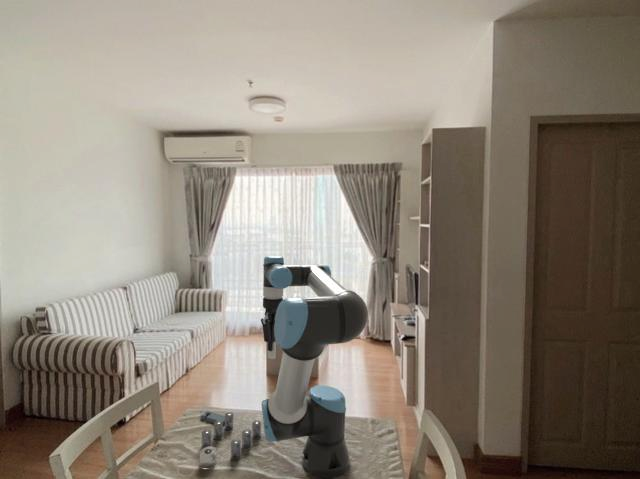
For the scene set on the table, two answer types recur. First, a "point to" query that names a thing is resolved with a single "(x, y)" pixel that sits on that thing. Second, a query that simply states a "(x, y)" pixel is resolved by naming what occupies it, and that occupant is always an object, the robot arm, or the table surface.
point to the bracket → (212, 417)
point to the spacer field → (235, 443)
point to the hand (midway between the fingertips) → (271, 358)
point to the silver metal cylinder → (208, 457)
